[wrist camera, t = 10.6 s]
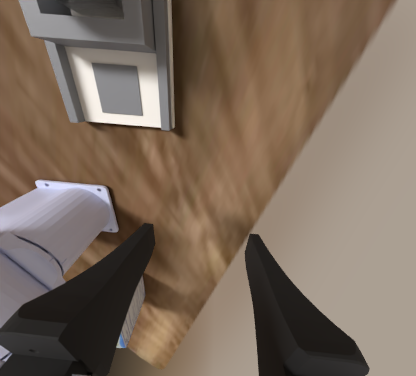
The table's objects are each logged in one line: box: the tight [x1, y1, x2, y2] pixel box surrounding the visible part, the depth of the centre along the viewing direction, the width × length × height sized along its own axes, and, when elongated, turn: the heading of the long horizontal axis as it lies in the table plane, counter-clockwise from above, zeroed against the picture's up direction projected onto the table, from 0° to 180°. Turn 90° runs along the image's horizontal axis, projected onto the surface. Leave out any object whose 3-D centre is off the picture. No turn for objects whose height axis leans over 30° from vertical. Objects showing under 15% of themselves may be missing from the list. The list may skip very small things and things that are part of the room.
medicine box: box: [116, 275, 145, 348], centre depth 29 cm, size 8×4×9 cm, turn 173°
